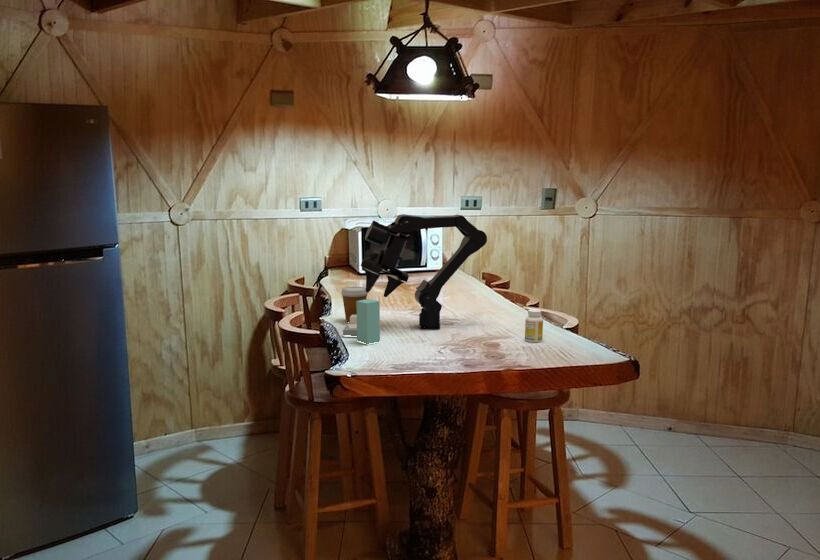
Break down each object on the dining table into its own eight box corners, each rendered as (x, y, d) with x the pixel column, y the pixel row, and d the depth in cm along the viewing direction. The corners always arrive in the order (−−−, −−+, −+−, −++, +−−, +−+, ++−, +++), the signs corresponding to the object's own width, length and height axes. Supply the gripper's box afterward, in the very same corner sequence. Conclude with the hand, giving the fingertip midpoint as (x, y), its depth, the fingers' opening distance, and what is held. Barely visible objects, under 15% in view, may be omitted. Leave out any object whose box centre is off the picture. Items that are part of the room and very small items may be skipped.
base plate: (372, 327, 211) (372, 314, 211) (365, 338, 198) (365, 324, 197) (350, 327, 212) (349, 314, 211) (342, 337, 198) (341, 323, 198)
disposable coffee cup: (344, 325, 214) (343, 291, 212) (339, 319, 223) (338, 286, 221) (371, 324, 217) (370, 290, 215) (365, 318, 226) (365, 285, 224)
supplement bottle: (527, 343, 191) (528, 312, 190) (522, 338, 196) (523, 308, 195) (544, 342, 192) (545, 311, 190) (539, 338, 197) (540, 308, 195)
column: (369, 339, 196) (368, 298, 194) (379, 342, 193) (379, 301, 190) (357, 342, 193) (356, 301, 191) (367, 345, 189) (366, 303, 187)
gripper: (393, 249, 217) (377, 291, 218) (358, 237, 202) (341, 281, 204) (416, 259, 210) (399, 302, 211) (382, 247, 196) (363, 293, 197)
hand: (376, 294), depth 206 cm, fingers open, 9 cm apart
